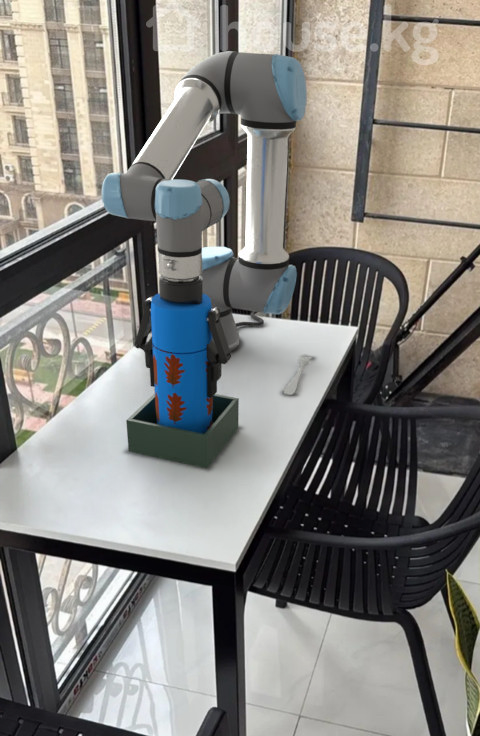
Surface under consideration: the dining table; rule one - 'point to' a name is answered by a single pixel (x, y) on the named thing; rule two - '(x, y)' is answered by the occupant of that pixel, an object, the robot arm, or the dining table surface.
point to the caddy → (183, 434)
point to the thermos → (181, 364)
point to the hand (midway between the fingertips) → (183, 389)
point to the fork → (297, 375)
